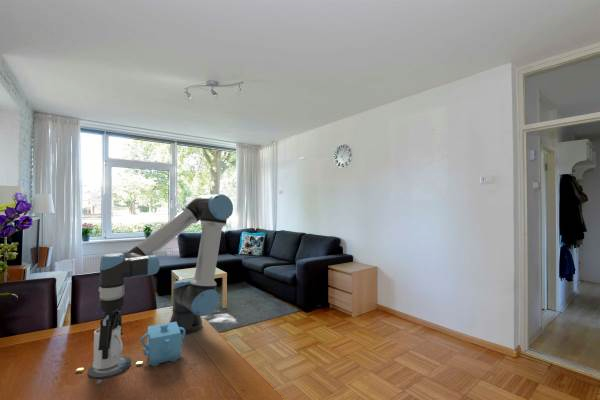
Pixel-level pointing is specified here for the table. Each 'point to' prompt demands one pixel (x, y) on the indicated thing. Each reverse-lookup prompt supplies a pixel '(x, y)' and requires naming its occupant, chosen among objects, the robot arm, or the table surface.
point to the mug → (115, 346)
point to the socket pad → (109, 370)
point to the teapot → (163, 343)
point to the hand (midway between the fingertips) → (110, 360)
